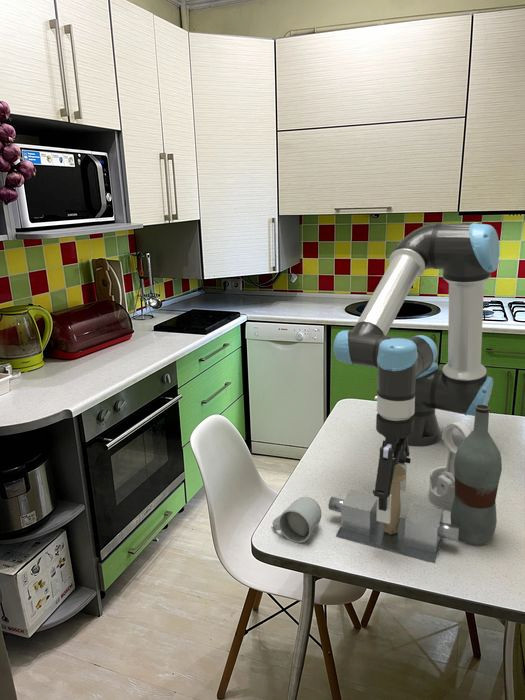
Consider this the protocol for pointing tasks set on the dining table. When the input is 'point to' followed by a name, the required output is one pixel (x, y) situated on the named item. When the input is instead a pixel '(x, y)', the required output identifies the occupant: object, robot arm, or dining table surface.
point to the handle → (395, 500)
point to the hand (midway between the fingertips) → (391, 504)
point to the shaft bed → (413, 532)
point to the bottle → (476, 483)
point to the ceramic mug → (299, 519)
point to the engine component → (446, 470)
